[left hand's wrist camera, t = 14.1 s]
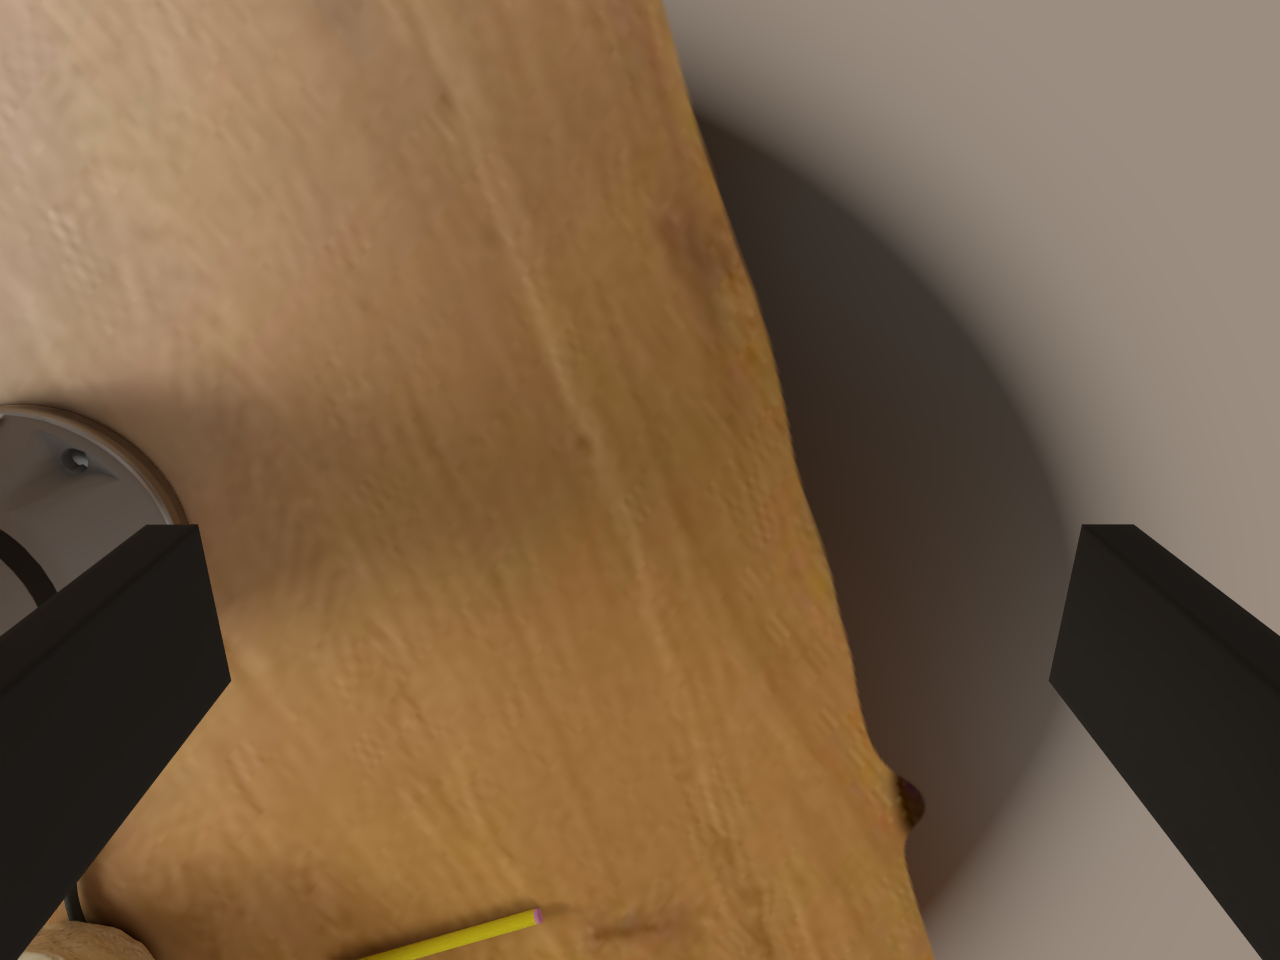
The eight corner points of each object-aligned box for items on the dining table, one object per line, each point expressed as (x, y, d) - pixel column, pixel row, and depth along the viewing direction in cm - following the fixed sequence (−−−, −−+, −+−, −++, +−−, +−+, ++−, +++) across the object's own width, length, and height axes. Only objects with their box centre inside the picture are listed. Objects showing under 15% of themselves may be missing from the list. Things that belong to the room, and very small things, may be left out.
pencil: (537, 904, 58) (536, 916, 57) (543, 914, 59) (541, 926, 58) (326, 965, 60) (321, 978, 59) (333, 974, 61) (328, 987, 60)
